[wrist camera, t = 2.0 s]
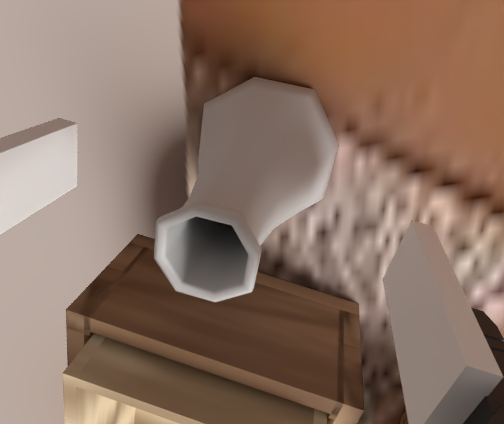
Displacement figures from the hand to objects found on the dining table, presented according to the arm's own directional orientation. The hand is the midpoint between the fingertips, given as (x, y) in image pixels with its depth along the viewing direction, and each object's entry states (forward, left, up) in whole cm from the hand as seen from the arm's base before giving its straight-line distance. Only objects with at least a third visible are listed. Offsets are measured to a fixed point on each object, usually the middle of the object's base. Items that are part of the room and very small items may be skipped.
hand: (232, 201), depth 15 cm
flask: (0, 0, -6) cm, 6 cm away
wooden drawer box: (+15, +10, -6) cm, 19 cm away
